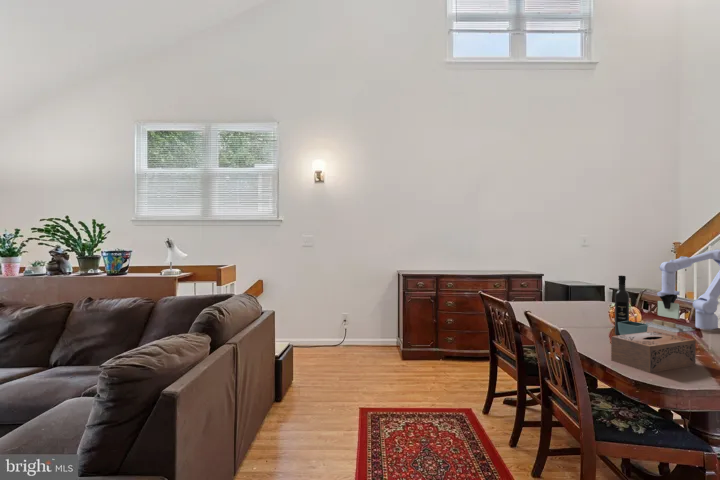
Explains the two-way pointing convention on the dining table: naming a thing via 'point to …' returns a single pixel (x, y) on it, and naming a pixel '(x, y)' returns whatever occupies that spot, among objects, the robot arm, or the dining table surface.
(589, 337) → the dining table surface
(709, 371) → the dining table surface
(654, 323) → the oak offcut
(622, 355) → the tissue box cover
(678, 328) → the slot rack
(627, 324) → the flower pot
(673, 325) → the oak offcut
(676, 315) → the sage panel
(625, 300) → the wine bottle
